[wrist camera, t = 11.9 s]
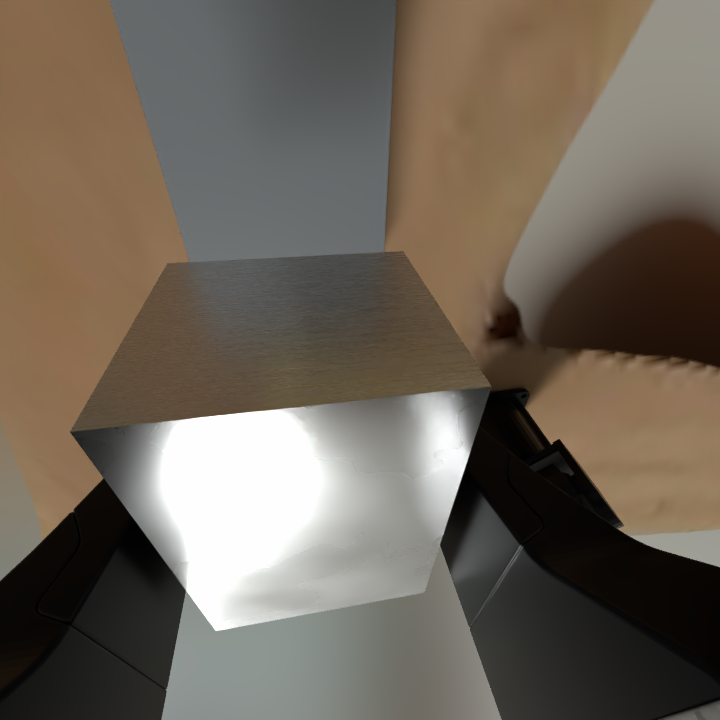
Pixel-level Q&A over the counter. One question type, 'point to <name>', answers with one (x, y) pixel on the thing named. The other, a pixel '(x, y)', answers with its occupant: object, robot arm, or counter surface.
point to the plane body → (268, 120)
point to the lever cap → (288, 430)
